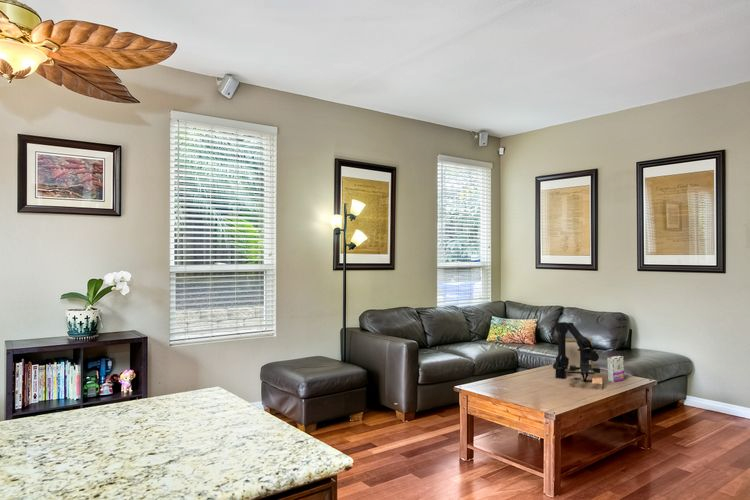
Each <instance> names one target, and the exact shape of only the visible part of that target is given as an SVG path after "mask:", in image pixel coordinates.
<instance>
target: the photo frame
mask: <svg viewBox="0 0 750 500" xmlns="http://www.w3.org/2000/svg"><path fill="white" fill-rule="evenodd" d="M587 339H588V340H590V342H591V344H592V345H593V338H587ZM578 349H579V346H578V345H577V340H576V339H575V338H574V337H572V338H571V337H566V356H567V358H569V364H568V368H567V369H565V371H566V373H579V370H575V371H570V365H576V367H580V351H578ZM584 349H585V348H584ZM594 363H595V361H591V360H589V364H590V365H592V368H594V367H595V364H594ZM591 373H593V374H594V373H595V372H594V371H591ZM591 373H590V374H591Z"/></svg>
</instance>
